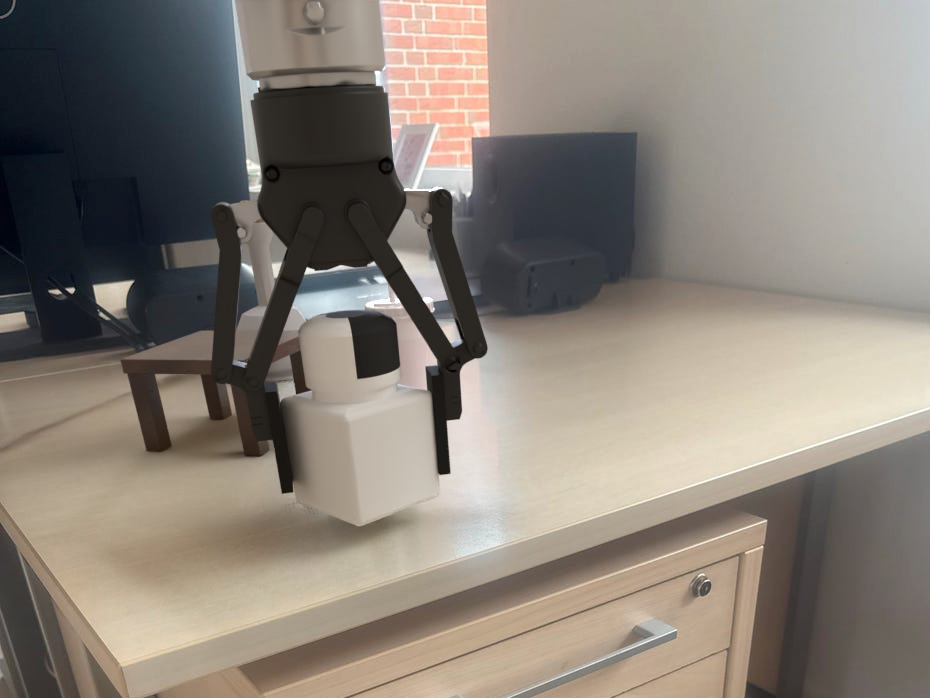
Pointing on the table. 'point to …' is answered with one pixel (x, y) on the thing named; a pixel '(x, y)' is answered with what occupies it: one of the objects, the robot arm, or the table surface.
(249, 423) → the stand
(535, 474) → the table surface
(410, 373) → the smoothie
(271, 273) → the potion bottle
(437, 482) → the medicine bottle
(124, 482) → the table surface
